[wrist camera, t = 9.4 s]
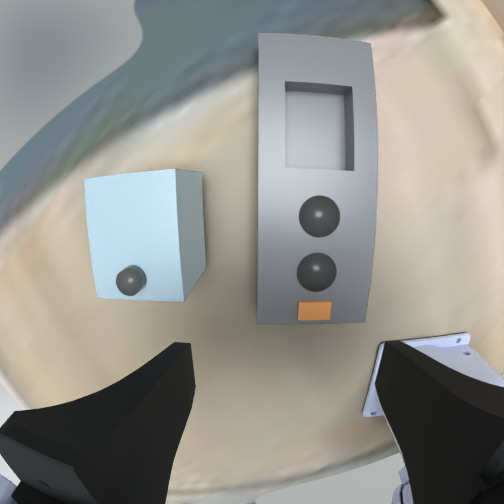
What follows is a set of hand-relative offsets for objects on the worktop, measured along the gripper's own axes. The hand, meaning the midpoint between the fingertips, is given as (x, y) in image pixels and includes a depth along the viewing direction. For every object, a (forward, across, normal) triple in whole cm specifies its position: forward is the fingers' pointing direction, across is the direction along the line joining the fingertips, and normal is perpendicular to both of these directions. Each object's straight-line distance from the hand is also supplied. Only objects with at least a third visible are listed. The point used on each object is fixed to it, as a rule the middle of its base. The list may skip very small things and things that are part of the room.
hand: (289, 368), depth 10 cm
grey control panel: (+10, -2, -7) cm, 13 cm away
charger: (+10, +7, -4) cm, 13 cm away
